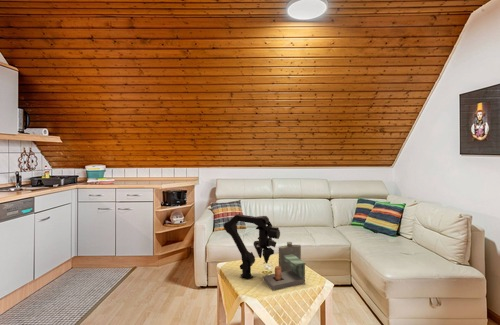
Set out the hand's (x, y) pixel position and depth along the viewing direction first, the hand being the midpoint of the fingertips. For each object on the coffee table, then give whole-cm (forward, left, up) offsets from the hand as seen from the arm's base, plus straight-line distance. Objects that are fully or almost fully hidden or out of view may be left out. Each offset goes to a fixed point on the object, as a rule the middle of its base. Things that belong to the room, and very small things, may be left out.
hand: (263, 260), depth 179 cm
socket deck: (+7, +11, -13) cm, 18 cm away
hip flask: (-5, +22, -13) cm, 26 cm away
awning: (+7, +18, -10) cm, 22 cm away
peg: (+7, +7, -13) cm, 16 cm away
